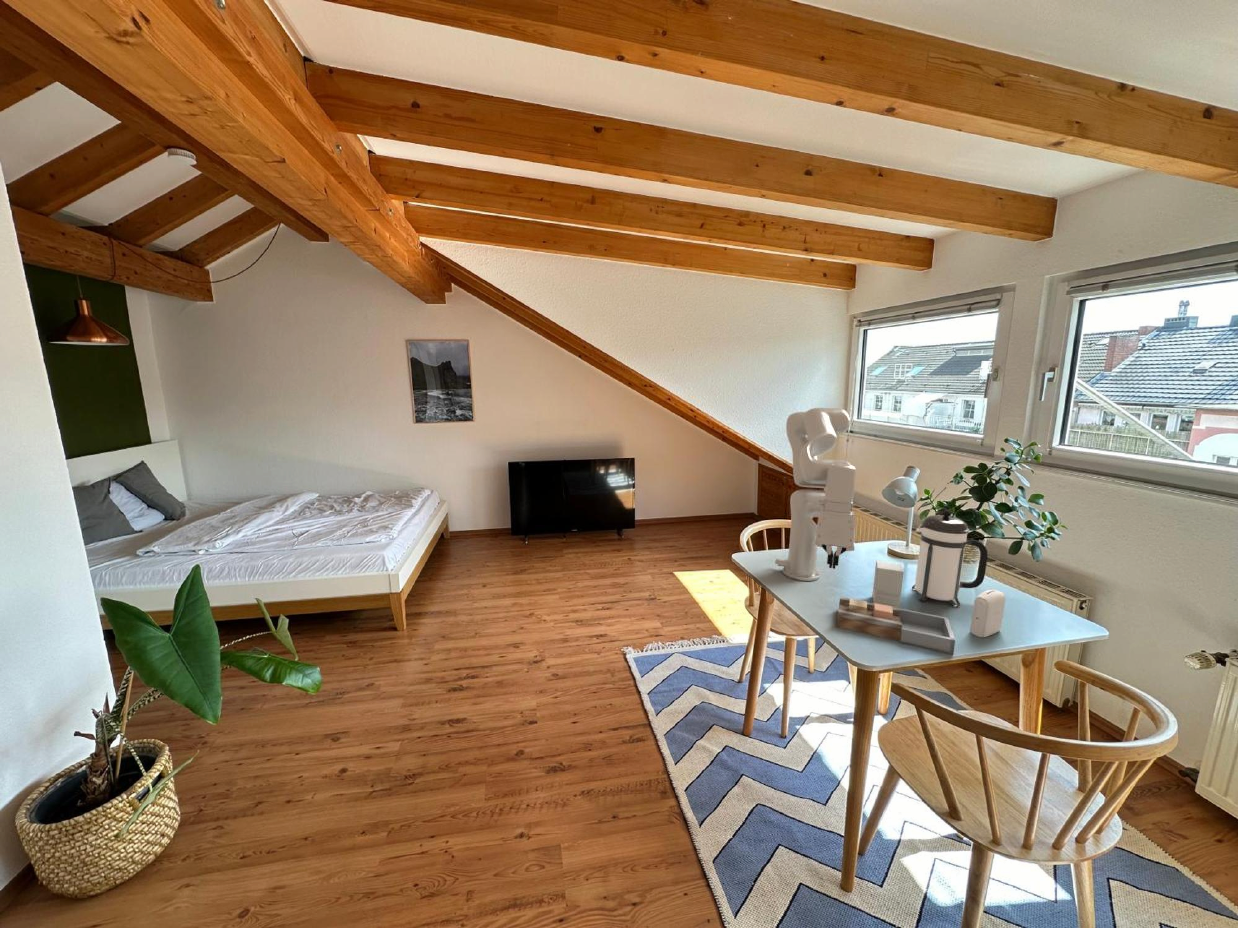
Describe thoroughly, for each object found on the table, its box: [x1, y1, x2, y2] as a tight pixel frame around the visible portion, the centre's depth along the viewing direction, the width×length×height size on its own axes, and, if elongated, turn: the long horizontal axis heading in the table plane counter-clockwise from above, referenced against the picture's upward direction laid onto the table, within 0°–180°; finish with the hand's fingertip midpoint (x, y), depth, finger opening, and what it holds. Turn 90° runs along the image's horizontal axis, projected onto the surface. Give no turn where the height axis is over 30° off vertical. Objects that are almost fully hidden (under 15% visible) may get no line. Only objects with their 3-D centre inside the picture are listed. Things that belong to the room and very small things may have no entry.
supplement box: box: [871, 560, 905, 608], centre depth 155 cm, size 7×7×13 cm
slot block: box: [836, 596, 902, 642], centre depth 141 cm, size 16×12×4 cm
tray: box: [899, 607, 956, 656], centre depth 135 cm, size 12×14×4 cm
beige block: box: [849, 598, 868, 615], centre depth 142 cm, size 4×4×3 cm
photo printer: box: [969, 589, 1006, 638], centre depth 138 cm, size 10×4×12 cm, turn 118°
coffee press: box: [911, 509, 989, 608], centre depth 158 cm, size 17×16×30 cm
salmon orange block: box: [873, 603, 893, 620], centre depth 139 cm, size 4×4×3 cm
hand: (832, 566), depth 143 cm, fingers closed
